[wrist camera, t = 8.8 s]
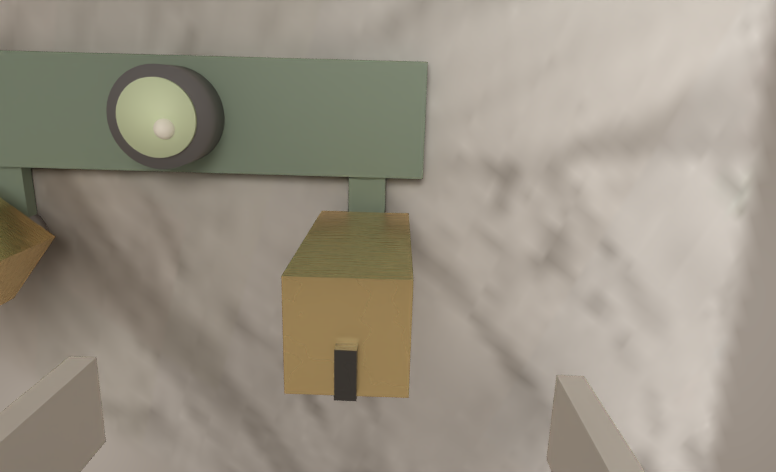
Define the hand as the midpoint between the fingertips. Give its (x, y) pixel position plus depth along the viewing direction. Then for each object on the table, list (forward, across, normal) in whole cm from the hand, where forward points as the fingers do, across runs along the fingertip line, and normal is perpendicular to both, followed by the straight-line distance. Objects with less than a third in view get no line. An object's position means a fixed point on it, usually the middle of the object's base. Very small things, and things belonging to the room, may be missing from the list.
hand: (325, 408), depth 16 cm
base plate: (+17, -10, +4) cm, 20 cm away
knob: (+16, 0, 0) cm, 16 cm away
